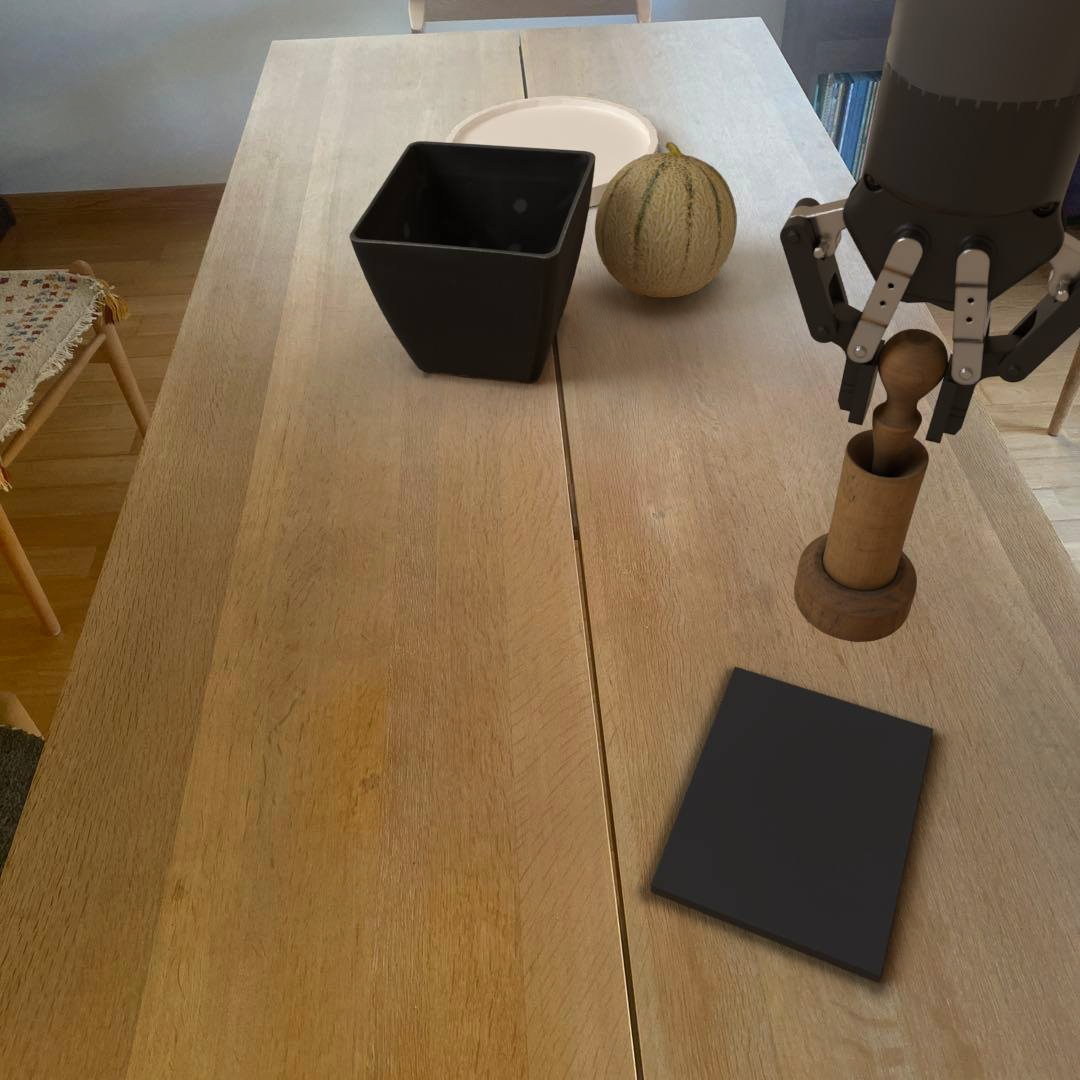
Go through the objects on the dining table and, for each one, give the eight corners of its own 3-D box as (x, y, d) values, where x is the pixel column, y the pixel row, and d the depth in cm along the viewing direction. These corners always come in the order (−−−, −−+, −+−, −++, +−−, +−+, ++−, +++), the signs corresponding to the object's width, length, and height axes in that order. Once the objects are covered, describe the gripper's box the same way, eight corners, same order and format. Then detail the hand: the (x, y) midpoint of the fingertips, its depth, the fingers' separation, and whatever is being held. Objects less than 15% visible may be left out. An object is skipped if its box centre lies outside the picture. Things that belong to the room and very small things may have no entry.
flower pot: (563, 410, 95) (556, 252, 83) (376, 391, 99) (344, 237, 87) (598, 300, 108) (597, 149, 96) (432, 287, 112) (410, 139, 99)
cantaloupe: (609, 334, 104) (609, 199, 93) (584, 261, 114) (581, 131, 103) (748, 316, 105) (764, 180, 94) (710, 245, 115) (721, 115, 104)
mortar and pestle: (775, 568, 59) (820, 309, 46) (876, 545, 60) (948, 285, 47) (822, 654, 55) (886, 394, 42) (931, 629, 56) (1027, 366, 43)
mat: (930, 736, 69) (933, 728, 68) (877, 982, 58) (881, 976, 57) (733, 674, 73) (734, 665, 73) (650, 891, 62) (650, 884, 62)
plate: (407, 193, 127) (405, 174, 125) (498, 103, 144) (496, 85, 143) (615, 227, 119) (615, 207, 117) (684, 127, 136) (685, 109, 134)
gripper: (774, 66, 36) (732, 436, 48) (1218, 119, 31) (1044, 512, 44) (825, -5, 40) (775, 349, 53) (1218, 31, 36) (1061, 410, 48)
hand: (897, 421), depth 48 cm, fingers closed on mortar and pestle, 3 cm apart
